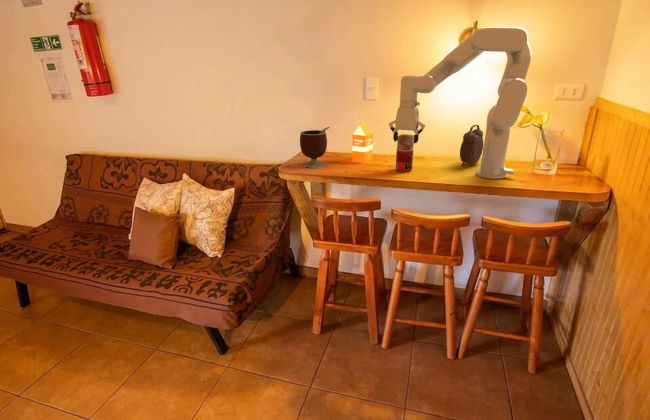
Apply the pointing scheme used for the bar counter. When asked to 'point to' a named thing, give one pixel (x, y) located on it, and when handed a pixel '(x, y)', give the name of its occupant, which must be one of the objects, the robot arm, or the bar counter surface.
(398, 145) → the walnut cube
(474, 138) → the alarm clock
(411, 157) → the canned food
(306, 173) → the bar counter surface
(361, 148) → the orange juice
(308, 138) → the mate gourd
